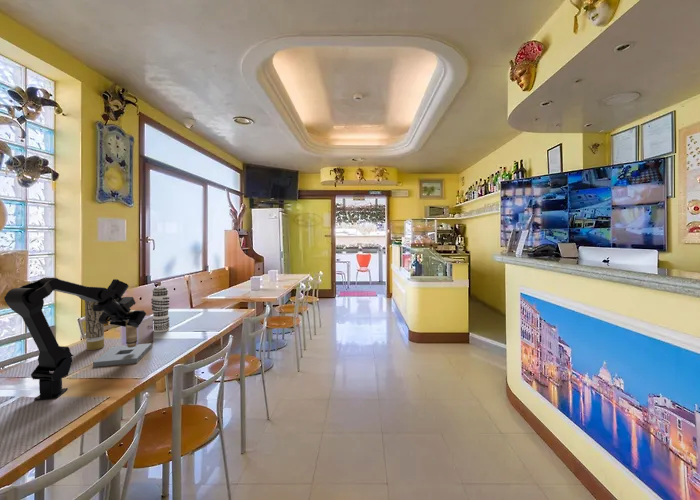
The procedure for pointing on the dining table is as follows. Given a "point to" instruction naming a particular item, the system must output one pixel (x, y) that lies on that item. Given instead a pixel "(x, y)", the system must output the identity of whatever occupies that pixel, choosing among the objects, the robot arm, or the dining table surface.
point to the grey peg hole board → (122, 355)
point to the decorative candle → (160, 309)
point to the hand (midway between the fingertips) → (133, 326)
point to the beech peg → (131, 334)
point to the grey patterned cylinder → (93, 327)
